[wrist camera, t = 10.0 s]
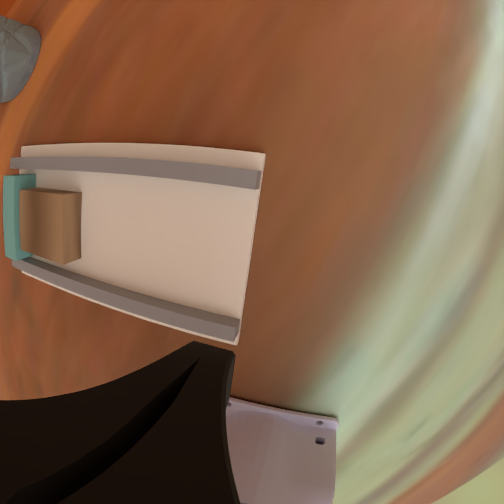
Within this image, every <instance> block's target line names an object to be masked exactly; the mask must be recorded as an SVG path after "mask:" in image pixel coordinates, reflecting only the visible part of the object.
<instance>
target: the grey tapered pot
mask: <svg viewBox="0 0 504 504" xmlns="http://www.w3.org/2000/svg"><path fill="white" fill-rule="evenodd" d="M40 47H41V37H40V34H39V32H38V31H37V30H36V29H35V28H33V27H30V26H28V25H24V24H22V23H20V22H18V21H16V20H12V19H7V18H6V17H3V16H1V15H0V103H3V102H8V101H11V100H13V99H14V98H15V97H16V96H17V95H18V94H19V93H20V92H21V90H22V89H23V88H24V86H25V85H26V83H27V81H28V80H29V78H30V76H31V74H32V72H33V69H34V67H35V65H36V62H37V59H38V56H39V53H40Z"/></svg>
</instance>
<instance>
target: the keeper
mask: <svg viewBox="0 0 504 504" xmlns="http://www.w3.org/2000/svg"><path fill="white" fill-rule="evenodd" d="M81 208H82V192H74V191H65V190H56V189H47V188H37V187H36V188H28V189H20V190H19V228H20V247H21V250H23V251H25V252H28V253H31V254H34V255H36V256H39V257H42V258H45V259H48V260H51V261H54V262H56V263H59V264H62V265H65V264H68V263H70V262H73V261H75V260H78V259H81Z"/></svg>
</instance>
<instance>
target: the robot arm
mask: <svg viewBox="0 0 504 504" xmlns="http://www.w3.org/2000/svg"><path fill="white" fill-rule="evenodd" d="M235 356H236V355H235V354H234V353H233V351H230V350H226V349H222V348H218V347H214V346H210V345H207V344H203V343H199V342H196V341H192V342H191V343H189V344H187V345H185V346H183V347H181V348H180V349H178V350H176V351H174V352H172V353H170V354H169V355H167V356H165V357H163V358H161V359H159V360H157V361H156V362H154V363H152V364H150V365H148V366H146V367H144V368H142V369H139V370H137V371H135V372H132V373H130V374H128V375H126V376H123V377H121V378H118V379H116V380H114V381H111V382H108V383H105V384H102V385H99V386H96V387H93V388H89V389H86V390H82V391H78V392H74V393H69V394H64V395H59V396H53V397H47V398H40V399H30V400H0V504H332V502H333V498H334V491H335V476H336V430H337V428H338V426H339V420H338V419H337V418H333V417H326V416H319V415H313V414H307V413H301V412H295V411H290V410H284V409H279V408H274V407H270V406H265V405H260V404H256V403H252V402H247V401H243V400H239V399H235V398H231V397H230V391H231V384H232V377H233V370H234V363H235ZM228 402H229V403H231V404H229V403H228ZM318 421H322V422H318Z"/></svg>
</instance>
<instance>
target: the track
mask: <svg viewBox="0 0 504 504" xmlns="http://www.w3.org/2000/svg"><path fill="white" fill-rule="evenodd" d="M265 156H266V154H264V153H256V152H248V151H239V150H230V149H220V148H210V147H198V146H184V145H167V144H145V143H69V144H48V145H33V146H22V148H21V157H14V158H11V163H10V169H20V172H19V174H17V175H6V176H4V182H3V224H4V243H5V255H6V257H8V258H11V259H12V266H13V267H15V268H17V269H20V270H22V273H24V274H26V275H28V276H31V277H33V278H35V279H38V280H40V281H42V282H45V283H47V284H49V285H52V286H54V287H56V288H59V289H61V290H64V291H66V292H69V293H71V294H74V295H76V296H79V297H82V298H84V299H87V300H89V301H92V302H95V303H98V304H100V305H103V306H106V307H109V308H111V309H114V310H117V311H120V312H123V313H126V314H129V315H132V316H135V317H138V318H141V319H144V320H147V321H150V322H154V323H157V324H160V325H163V326H167V327H170V328H173V329H177V330H180V331H184V332H187V333H191V334H194V335H198V336H201V337H205V338H209V339H213V340H217V341H220V342H224V343H228V344H232V345H236V346H237V344H238V342H239V335H240V329H241V322H242V315H243V308H244V301H245V294H246V287H247V280H248V273H249V266H250V260H251V253H252V246H253V239H254V232H255V225H256V218H257V211H258V204H259V198H260V191H261V184H262V177H263V170H264V163H265ZM36 187H37V188H47V189H56V190H65V191H74V192H82V208H81V259H78V260H75V261H73V262H70V263H68V264H65V265H62V264H59V263H56V262H54V261H51V260H48V259H45V258H42V257H39V256H36V255H34V254H31V253H28V252H25V251H23V250H21V247H20V228H19V190H20V189H28V188H36Z"/></svg>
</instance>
